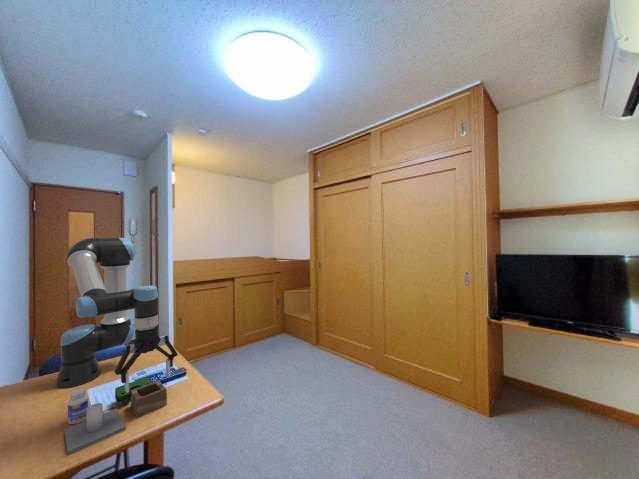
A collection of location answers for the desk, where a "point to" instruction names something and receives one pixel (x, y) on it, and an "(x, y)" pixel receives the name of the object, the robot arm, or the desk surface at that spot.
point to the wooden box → (148, 398)
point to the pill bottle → (77, 406)
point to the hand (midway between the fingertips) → (148, 383)
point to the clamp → (123, 395)
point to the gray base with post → (93, 428)
